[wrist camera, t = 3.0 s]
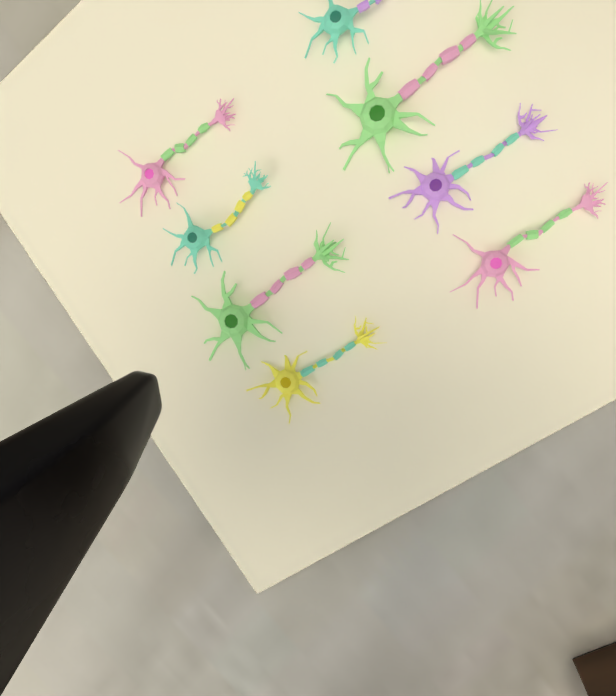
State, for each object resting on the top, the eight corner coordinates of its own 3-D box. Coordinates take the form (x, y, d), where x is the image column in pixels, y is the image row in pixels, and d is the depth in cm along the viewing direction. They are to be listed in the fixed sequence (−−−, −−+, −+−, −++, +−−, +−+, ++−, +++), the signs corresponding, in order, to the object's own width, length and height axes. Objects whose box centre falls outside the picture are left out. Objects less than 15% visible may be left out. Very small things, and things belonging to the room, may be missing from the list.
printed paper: (258, 590, 27) (250, 607, 26) (-47, 137, 27) (-72, 129, 26) (836, 276, 20) (868, 275, 19) (424, -339, 20) (425, -385, 19)
